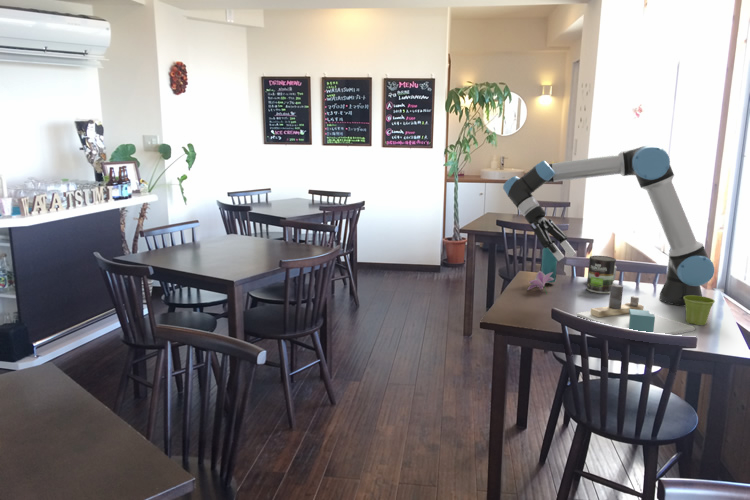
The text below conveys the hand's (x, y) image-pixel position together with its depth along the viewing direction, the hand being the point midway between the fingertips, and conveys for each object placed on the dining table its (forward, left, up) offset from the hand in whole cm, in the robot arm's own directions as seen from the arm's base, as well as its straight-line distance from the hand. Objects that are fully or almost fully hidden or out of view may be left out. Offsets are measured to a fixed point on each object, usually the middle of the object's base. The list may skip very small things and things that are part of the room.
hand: (567, 257), depth 207 cm
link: (-8, +18, -18) cm, 26 cm away
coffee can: (-31, -10, -19) cm, 38 cm away
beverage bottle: (-18, -27, -19) cm, 38 cm away
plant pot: (-28, +35, -19) cm, 48 cm away
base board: (-7, +26, -19) cm, 33 cm away
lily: (-5, -18, -19) cm, 27 cm away
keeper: (-3, +32, -18) cm, 36 cm away
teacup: (-43, -20, -19) cm, 51 cm away
